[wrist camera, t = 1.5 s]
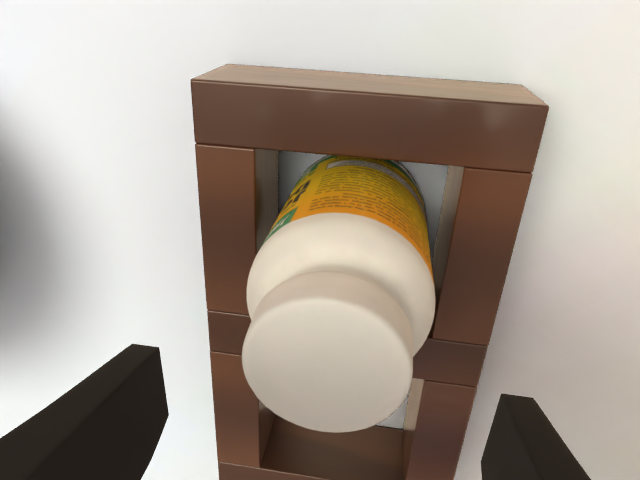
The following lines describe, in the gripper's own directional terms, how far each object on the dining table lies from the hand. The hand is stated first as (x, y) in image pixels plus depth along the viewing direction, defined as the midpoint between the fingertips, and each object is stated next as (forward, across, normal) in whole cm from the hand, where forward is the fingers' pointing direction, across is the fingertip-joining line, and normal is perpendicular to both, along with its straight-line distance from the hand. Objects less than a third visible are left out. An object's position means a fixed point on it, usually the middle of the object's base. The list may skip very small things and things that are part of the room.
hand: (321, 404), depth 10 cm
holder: (+10, 0, +4) cm, 11 cm away
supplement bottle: (+11, 0, 0) cm, 11 cm away
